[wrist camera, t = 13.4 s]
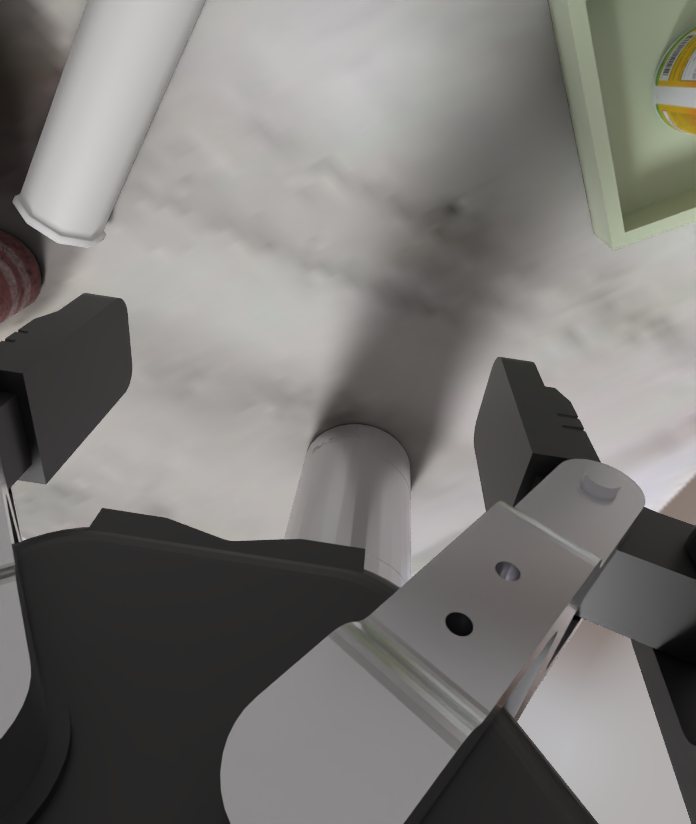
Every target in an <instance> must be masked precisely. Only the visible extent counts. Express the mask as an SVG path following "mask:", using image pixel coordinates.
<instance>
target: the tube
mask: <svg viewBox="0 0 696 824" xmlns="http://www.w3.org/2000/svg"><path fill="white" fill-rule="evenodd" d="M205 1H206V0H88V2H87V4H86V7H85V10H84V13H83V16H82V19H81V22H80V24H79V27H78V30H77V33H76V36H75V39H74V42H73V44H72V47H71V50H70V53H69V56H68V59H67V62H66V65H65V67H64V70H63V73H62V76H61V79H60V82H59V85H58V87H57V90H56V93H55V96H54V99H53V102H52V105H51V108H50V110H49V113H48V116H47V119H46V122H45V125H44V128H43V130H42V133H41V136H40V139H39V142H38V145H37V148H36V151H35V153H34V156H33V159H32V162H31V165H30V168H29V171H28V173H27V176H26V179H25V182H24V185H23V188H22V191H21V193H20V194H19V195H16V196H14V199H13V204H14V205H15V207H16V208H17V210H18V211H19V213H20V214H21V216H22V217H23V219H24V220H25V222H26V223H27V224H28V225H30V226H32V227H33V228H35V229H36V230H38V231H39V232H41V233H43V234H44V235H46V236H47V237H49V238H50V239H52V240H54V241H55V242H57V243H60V244H67V245H73V246H79V247H86V248H89V247H91V246H93V245H95V244H97V243H98V242H100V241H102V240H104V238H105V235H106V233H105V232H104V228H105V226H106V223H107V221H108V219H109V217H110V214H111V212H112V210H113V208H114V205H115V203H116V201H117V199H118V196H119V194H120V192H121V190H122V187H123V185H124V183H125V181H126V178H127V176H128V174H129V172H130V169H131V167H132V165H133V163H134V160H135V158H136V156H137V154H138V151H139V149H140V147H141V145H142V142H143V140H144V138H145V136H146V133H147V131H148V129H149V127H150V124H151V122H152V120H153V118H154V115H155V113H156V111H157V109H158V106H159V104H160V102H161V100H162V97H163V95H164V93H165V91H166V88H167V86H168V84H169V82H170V79H171V77H172V75H173V73H174V70H175V68H176V66H177V64H178V61H179V59H180V57H181V55H182V52H183V50H184V48H185V46H186V43H187V41H188V39H189V37H190V34H191V32H192V30H193V28H194V25H195V23H196V21H197V19H198V16H199V14H200V12H201V10H202V7H203V5H204V3H205Z"/></svg>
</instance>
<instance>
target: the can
mask: <svg viewBox="0 0 696 824" xmlns="http://www.w3.org/2000/svg"><path fill="white" fill-rule="evenodd" d="M40 288H41V274H40V268H39V265H38V263H37V261H36V259H35V257H34V255H33V254H32V253H31V252H30V250H29V249H28V248H27V247H26V245H24V244H23V243H22V242H20V241H19V240H18V239H17V238H15V237H14V236H12V235H10V234H7V233H5V232H3V231H1V230H0V323H1V322H3V321H4V320H6V319H8V318H9V317H11V316H12V315H14V314H15V313H17V312H19V311H20V310H22V309H23V308H25V307H27V306H28V305H30V304H31V303H33V302H34V301H35V300H36V298H37V296H38V295H39V293H40Z"/></svg>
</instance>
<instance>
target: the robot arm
mask: <svg viewBox="0 0 696 824" xmlns="http://www.w3.org/2000/svg"><path fill="white" fill-rule="evenodd" d="M131 375H132V357H131V346H130V335H129V324H128V313H127V307H126V304H125V302H124V301H123V300H122V299H121V298H115V297H108V296H102V295H95V294H89V293H84V294H82V295H80V296H79V297H78V298H76V299H75V300H73V301H72V302H70V303H69V304H68V305H66V306H65V307H63V308H62V309H61V310H59V311H57V312H54V313H51V314H48V315H45V316H42V317H39V318H36V319H34V320H32V321H31V322H29V323H28V324H26V325H25V326H23V327H22V328H20V329H19V330H18V332H14V333H13V334H12V335H10V336H9V337H7V338H6V339H5V341H1V342H0V824H598V823H597V821H596V820H595V819H594V818H593V816H592V815H591V814H590V813H589V811H588V810H587V809H586V808H585V806H584V805H583V804H582V803H581V802H580V800H579V799H578V798H577V797H576V795H575V794H574V793H573V792H572V790H571V789H570V788H569V786H568V785H567V784H566V783H565V781H564V780H563V779H562V778H561V776H560V775H559V774H558V773H557V771H556V770H555V769H554V768H553V767H552V765H551V764H550V763H549V762H548V760H547V759H546V758H545V756H544V755H543V754H542V753H541V752H540V750H539V749H538V748H537V747H536V745H535V744H534V743H533V742H532V740H531V739H530V738H529V737H528V735H527V734H526V733H525V732H524V730H523V729H522V728H521V727H520V725H519V724H518V723H517V721H518V719H519V718H520V716H521V714H522V713H523V711H524V709H525V707H526V706H527V704H528V702H529V701H530V699H531V697H532V696H533V694H534V692H535V691H536V689H537V688H538V686H539V685H540V683H541V681H542V680H543V679H544V677H545V676H546V674H547V673H548V671H549V670H550V668H551V667H552V665H553V664H554V662H555V661H556V659H557V658H558V656H559V655H560V653H561V652H562V650H563V649H564V647H565V646H566V644H567V643H568V641H569V640H570V638H571V637H572V635H573V634H574V632H575V631H576V629H577V628H578V626H579V625H580V623H581V622H582V620H583V619H585V620H588V621H590V622H593V623H595V624H597V625H600V626H602V627H604V628H607V629H609V630H612V631H614V632H616V633H619V634H621V635H624V636H626V637H628V638H631V641H632V645H633V648H634V651H635V654H636V657H637V660H638V663H639V666H640V669H641V672H642V675H643V678H644V681H645V684H646V687H647V690H648V693H649V697H650V699H651V703H652V705H653V708H654V712H655V715H656V718H657V721H658V723H659V727H660V730H661V733H662V736H663V739H664V742H665V745H666V748H667V751H668V754H669V757H670V760H671V763H672V766H673V769H674V772H675V775H676V778H677V781H678V784H679V787H680V790H681V793H682V797H683V800H684V803H685V805H686V809H687V812H688V815H689V818H690V821H691V824H696V525H695V526H694V525H691V524H688V523H686V522H683V521H680V520H677V519H674V518H671V517H668V516H666V515H663V514H660V513H657V512H655V511H652V510H650V509H648V508H646V507H644V505H645V496H644V494H643V492H642V490H641V489H640V487H639V486H638V485H637V484H636V483H635V482H634V481H633V480H632V479H631V478H630V477H628V476H627V475H625V474H624V473H622V472H621V471H619V470H617V469H615V468H613V467H611V466H609V465H606V464H603V463H601V462H600V460H599V458H598V456H597V454H596V452H595V450H594V448H593V446H592V444H591V442H590V440H589V438H588V436H587V434H586V432H585V431H583V430H584V428H583V426H582V424H581V422H580V420H579V419H577V418H578V416H577V414H576V412H575V410H574V408H573V406H572V404H571V402H570V401H569V400H568V399H567V398H566V397H564V396H563V395H562V394H561V393H560V392H559V391H558V390H556V389H555V388H552V387H545V386H544V384H543V381H542V379H541V377H540V374H539V372H538V370H537V368H536V365H535V363H534V362H530V361H523V360H517V359H510V358H504V357H498V358H497V359H496V360H495V362H494V364H493V367H492V370H491V373H490V377H489V380H488V383H487V387H486V390H485V394H484V397H483V400H482V404H481V407H480V410H479V414H478V417H477V421H476V426H475V432H474V448H475V454H476V459H477V465H478V470H479V476H480V481H481V486H482V492H483V497H484V503H485V508H486V512H485V513H484V514H483V515H482V516H481V517H480V518H479V519H477V520H476V521H475V522H474V523H473V524H472V525H471V526H470V527H468V528H467V529H466V530H465V531H464V532H463V533H462V534H461V535H459V536H458V537H457V538H456V539H455V540H454V541H453V542H451V543H450V544H449V545H448V546H447V547H446V548H445V549H444V550H442V551H441V552H440V553H439V554H438V555H437V556H436V557H435V558H433V559H432V560H431V561H430V562H429V563H428V564H427V565H426V566H424V567H423V568H422V569H421V570H420V571H419V572H418V573H417V574H415V575H414V576H413V577H412V578H411V506H410V500H411V487H410V463H409V458H408V456H407V454H406V451H405V450H404V448H403V447H402V446H401V444H400V443H399V442H398V441H397V440H396V439H395V438H394V437H392V436H391V435H390V434H388V433H386V432H384V431H383V430H381V429H378V428H375V427H372V426H367V425H361V424H347V425H342V426H337V427H334V428H332V429H329V430H327V431H325V432H324V433H322V434H321V435H319V436H318V437H317V438H316V439H315V440H314V441H313V442H312V443H311V445H310V447H309V449H308V451H307V453H306V457H305V461H304V465H303V468H302V472H301V476H300V480H299V483H298V487H297V491H296V495H295V498H294V502H293V506H292V510H291V514H290V518H289V522H288V526H287V530H286V534H285V538H284V539H282V540H255V541H228V540H224V539H221V538H218V537H216V536H213V535H210V534H208V533H205V532H203V531H200V530H197V529H195V528H192V527H189V526H187V525H184V524H181V523H179V522H176V521H173V520H171V519H168V518H163V517H157V516H150V515H144V514H138V513H131V512H125V511H118V510H112V509H105V508H102V509H101V511H100V512H99V514H98V515H97V517H96V518H95V520H94V521H93V522H92V524H91V525H90V527H82V528H74V529H66V530H60V531H56V532H51V533H46V534H43V535H39V536H36V537H32V538H29V539H27V540H24V541H23V539H22V534H21V529H20V524H19V519H18V514H17V509H16V504H15V499H14V495H13V491H12V488H11V486H12V485H13V484H14V483H15V482H16V481H17V480H21V481H27V482H34V483H40V484H47V483H48V482H49V480H50V479H51V478H52V477H53V476H54V475H55V473H56V472H57V471H58V470H59V469H60V468H61V466H62V465H63V464H64V463H65V462H66V461H67V460H68V458H69V457H70V456H71V455H72V454H73V453H74V451H75V450H76V449H77V448H78V447H79V446H80V444H81V443H82V442H83V441H84V440H85V439H86V437H87V436H88V435H89V434H90V433H91V432H92V430H93V429H94V428H95V427H96V426H97V425H98V424H99V422H100V421H101V420H102V419H103V418H104V417H105V415H106V414H107V413H108V412H109V411H110V410H111V408H112V407H113V406H114V405H115V404H116V403H117V401H118V400H119V399H120V398H121V397H122V396H123V394H124V393H125V392H126V390H127V389H128V386H129V384H130V380H131Z"/></svg>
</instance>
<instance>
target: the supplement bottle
mask: <svg viewBox="0 0 696 824" xmlns="http://www.w3.org/2000/svg"><path fill="white" fill-rule="evenodd" d="M652 101H653V105H654V108H655V111H656V113H657V115H658V116H659V118H660V119H661V120H662V121H663V122H664V123H665V124H666V125H667V126H669V127H670V128H672V129H674V130H677V131H680V132H684V133H689V134H694V135H696V26H695V27H693V28H692V29H690V30H689V31H687V32H686V33H684V34H683V35H682V36H680V37H679V38H678V39H677V40H676V41H675V42H674V43H673V44H672V45H671V46H670V47H669V49H668V50H667V51H666V53H665V54H664V56H663V57H662V59H661V61H660V63H659V65H658V67H657V69H656V72H655V75H654V79H653V84H652Z"/></svg>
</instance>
